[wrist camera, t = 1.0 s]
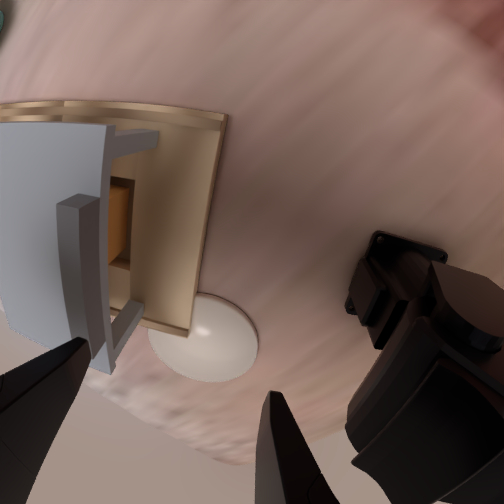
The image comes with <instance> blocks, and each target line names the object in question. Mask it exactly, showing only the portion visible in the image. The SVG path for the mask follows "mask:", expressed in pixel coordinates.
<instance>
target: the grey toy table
mask: <svg viewBox="0 0 504 504" xmlns="http://www.w3.org/2000/svg"><path fill="white" fill-rule="evenodd" d="M115 130H116V125H112V124H99V123H84V122H61V121H7V122H0V296H1V300H2V304H3V307H4V311H5V314H6V317H7V321H8V324H9V327H10V329H12V330H13V331H15V332H17V333H19V334H21V335H23V336H25V337H26V338H29V339H30V340H32V341H34V342H36V343H38V344H40V345H42V346H44V347H46V348H48V349H50V350H52V349H54V348H56V347H58V346H60V345H62V344H64V343H66V342H68V341H70V340H72V339H74V338H76V337H82V338H84V339H87V340H88V341H89V345H90V350H91V362H90V364H89V367H91V368H94V369H96V370H99V371H101V372H104V373H107V374H109V375H111V374H112V373H113V371H114V369H115V367H116V364H115V361H116V359H117V357H118V356H119V354H120V352H121V351H122V349H123V347H124V346H125V344H126V342H127V341H128V339H129V337H130V336H131V334H132V333H133V331H134V329H135V328H136V326H137V324H138V323H139V321H140V320H141V318H142V316H143V315H144V304H143V303H140V302H136V301H133V300H128V302H127V303H126V304H125V306H124V307H123V308H122V310H121V311H120V312H119V314H118V315H117V317H116V318H115V319H114V321H113V322H112V324H111V318H110V304H109V286H108V207H109V189H110V175H111V164H112V159H115V158H119V157H122V156H126V155H129V154H133V153H137V152H140V151H144V150H148V149H152V148H156V147H157V141H158V135H159V131H157V130H149V129H130V130H121V131H115Z"/></svg>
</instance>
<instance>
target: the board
mask: <svg viewBox="0 0 504 504" xmlns="http://www.w3.org/2000/svg"><path fill="white" fill-rule="evenodd" d="M227 118H228V115H226V114H220V113H214V112H208V111H201V110H194V109H187V108H179V107H171V106H162V105H152V104H140V103H126V102H107V101H44V102H26V103H13V104H3V105H0V122H7V121H61V122H84V123H99V124H112V125H116V130H115V131H121V130H130V129H149V130H157V131H159V135H158V141H157V147H156V148H152V149H148V150H144V151H140V152H137V153H133V154H129V155H126V156H122V157H119V158H115V159H112V164H111V175H110V185H115V186H120V187H126V188H129V198H128V213H127V231H126V248H125V249H124V250H123V251H122V252H121V253H120V254H119V255H118V256H117V257H116V258H115V259H113V260H112V261H111V262H110V263H109V264H108V286H109V304H110V316H112V317H115V318H116V317H117V315H118V314H119V312H120V311H121V310H122V308H123V307H124V306H125V304H126V303H127V302H128V300H133V301H136V302H140V303H143V304H144V315H143V316H142V318H141V320H140V321H139V323H138V324H137V325H140V326H143V327H147V328H150V329H153V330H157V331H160V332H164V333H167V334H171V335H175V336H178V337H182V338H186V339H188V337H189V334H190V328H191V320H192V312H193V304H194V298H195V296H196V293H197V288H198V281H199V274H200V267H201V261H202V254H203V248H204V242H205V235H206V229H207V223H208V217H209V212H210V206H211V200H212V195H213V189H214V184H215V178H216V173H217V168H218V163H219V157H220V152H221V147H222V142H223V137H224V133H225V128H226V123H227Z"/></svg>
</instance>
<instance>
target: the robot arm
mask: <svg viewBox="0 0 504 504" xmlns="http://www.w3.org/2000/svg"><path fill="white" fill-rule="evenodd" d="M380 236H382V240H381V241H377V239H378V237H380ZM442 255H443V257H442V258H441V259H440V256H442ZM447 258H448V255H447V253H446V252H445V251H444V250H442V249H439V248H436V247H432V246H429V245H426V244H423V243H420V242H416V241H413V240H410V239H407V238H403V237H400V236H397V235H393V234H390V233H386V232H383V231H377V232H375V233H374V234H373V236H372V238H371V241H370V244H369V246H368V249H367V252H366V254H365V257H363V258H362V259H361V260H360V262H359V264H358V267H357V269H356V272H355V275H354V277H353V280H352V282H351V284H350V287H349V293H350V294H349V296H348V299H347V301H346V303H345V309H346V312H347V313H348V314H352V315H358V317H359V320H360V323H361V325H362V326H365V327H367V329H368V332H369V335H370V338H371V340H372V343H373V346H374V348H375V349H379V350H382V352H381V353H380V355H379V357H378V358H377V360H376V361H375V363H374V365H373V366H372V368H371V369H370V371H369V373H368V374H367V376H366V377H365V379H364V380H363V382H362V383H361V385H360V386H359V388H358V389H357V391H356V392H355V394H354V395H353V397H352V399H351V401H350V403H349V405H348V411H347V423H346V424H345V429H346V433H347V436H348V438H349V440H350V442H351V443H352V445H353V447H354V448H355V450H356V451H357V452H358V453H359V454H358V455H357V456H356V457H355V458H354V459H353V460H352V461H351V463H352V465H354V466H355V467H357V468H359V469H361V470H362V471H364V472H366V473H367V474H368V475H369V476H371V477H372V478H373V479H374V480H375V481H376V482H377V483H378V484H379V485H380V487H381V488H382V489H383V491H384V492H385V494H386V496H387V497H388V499H389V501H390V502H391V504H433V503H435V502H436V501H441V502H446V503H450V504H504V290H503V289H501V288H500V287H499V286H498V285H496V284H495V283H494V282H493V281H491V280H490V279H489V278H487V277H485V276H482V275H479V274H476V273H473V272H469V271H466V270H463V269H460V268H456V267H453V266H450V265H446V264H445V263H446V261H447ZM350 306H354V307H353V308H349V307H350ZM90 362H91V350H90V345H89V341H88V340H87V339H84V338H82V337H76V338H74V339H72V340H70V341H68V342H66V343H64V344H62V345H60V346H58V347H56V348H54V349H52V350H50V351H48V352H46V353H44V354H42V355H40V356H38V357H36V358H34V359H32V360H30V361H28V362H26V363H24V364H22V365H20V366H18V367H16V368H14V369H12V370H10V371H8V372H6V373H5V374H2V375H0V504H26V501H27V499H28V496H29V494H30V491H31V489H32V486H33V484H34V482H35V480H36V476H37V475H38V472H39V470H40V468H41V466H42V463H43V461H44V459H45V457H46V455H47V453H48V451H49V448H50V446H51V444H52V442H53V440H54V438H55V436H56V434H57V432H58V430H59V428H60V426H61V424H62V422H63V420H64V418H65V416H66V414H67V412H68V411H69V409H70V407H71V405H72V403H73V401H74V399H75V397H76V395H77V393H78V391H79V388H80V386H81V383H82V381H83V379H84V376H85V374H86V371H87V369H88V366H89V364H90ZM255 504H340V503H339V501H338V500H337V499H336V497H335V496H334V494H333V493H332V491H331V489H330V487H329V486H328V484H327V482H326V480H325V478H324V476H323V474H322V473H321V471H320V469H319V467H318V465H317V463H316V461H315V459H314V457H313V455H312V453H311V451H310V449H309V447H308V445H307V443H306V441H305V439H304V437H303V435H302V433H301V431H300V429H299V427H298V425H297V423H296V421H295V419H294V417H293V415H292V413H291V411H290V409H289V407H288V404H287V402H286V400H285V398H284V396H283V394H282V393H281V392H278V391H272V390H271V391H269V392H268V394H267V397H266V399H265V401H264V404H263V407H262V413H261V419H260V425H259V432H258V438H257V445H256V473H255Z"/></svg>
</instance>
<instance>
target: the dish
mask: <svg viewBox="0 0 504 504" xmlns="http://www.w3.org/2000/svg"><path fill="white" fill-rule="evenodd" d="M148 336H149V341H150V344H151V346H152V348H153V350H154V352H155V353H156V355H157V356H158V357H159V358H160V359H161V361H162V362H163V363H165V364H166V365H167V366H168V367H169V368H171V369H172V370H174V371H175V372H177V373H179V374H181V375H183V376H185V377H188V378H191V379H194V380H198V381H204V382H223V381H228V380H232V379H235V378H237V377H239V376H241V375H243V374H244V373H245V372H247V371H248V370H249V369H250V368H251V366H252V365H253V363H254V361H255V359H256V356H257V350H258V337H257V333H256V329H255V327H254V325H253V323H252V322H251V321H250V319H249V318H248V317H247V316H246V314H245V313H244V312H242V311H241V310H240V309H239V308H238V307H236V306H235V305H233V304H232V303H230V302H228V301H226V300H224V299H222V298H219V297H217V296H213V295H210V294H204V293H196V296H195V298H194V304H193V312H192V320H191V328H190V334H189V337H188V339H186V338H182V337H178V336H175V335H171V334H167V333H164V332H160V331H157V330H153V329H150V328H148Z"/></svg>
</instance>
